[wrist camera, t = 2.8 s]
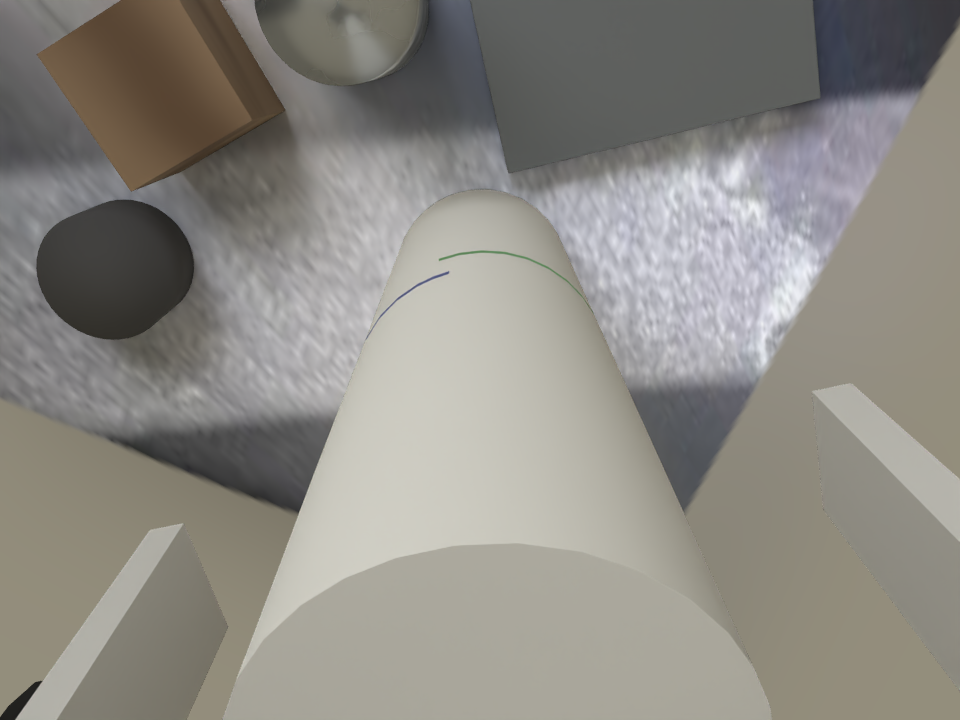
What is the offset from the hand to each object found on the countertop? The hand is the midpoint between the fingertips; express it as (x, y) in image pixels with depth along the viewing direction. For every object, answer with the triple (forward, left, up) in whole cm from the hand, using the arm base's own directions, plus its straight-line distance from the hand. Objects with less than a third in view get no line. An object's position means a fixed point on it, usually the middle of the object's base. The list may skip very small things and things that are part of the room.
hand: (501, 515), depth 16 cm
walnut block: (-9, +10, -19) cm, 23 cm away
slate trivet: (+8, +10, -18) cm, 22 cm away
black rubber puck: (-14, +4, -19) cm, 24 cm away
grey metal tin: (-2, +11, -19) cm, 22 cm away
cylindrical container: (0, 0, -19) cm, 19 cm away
